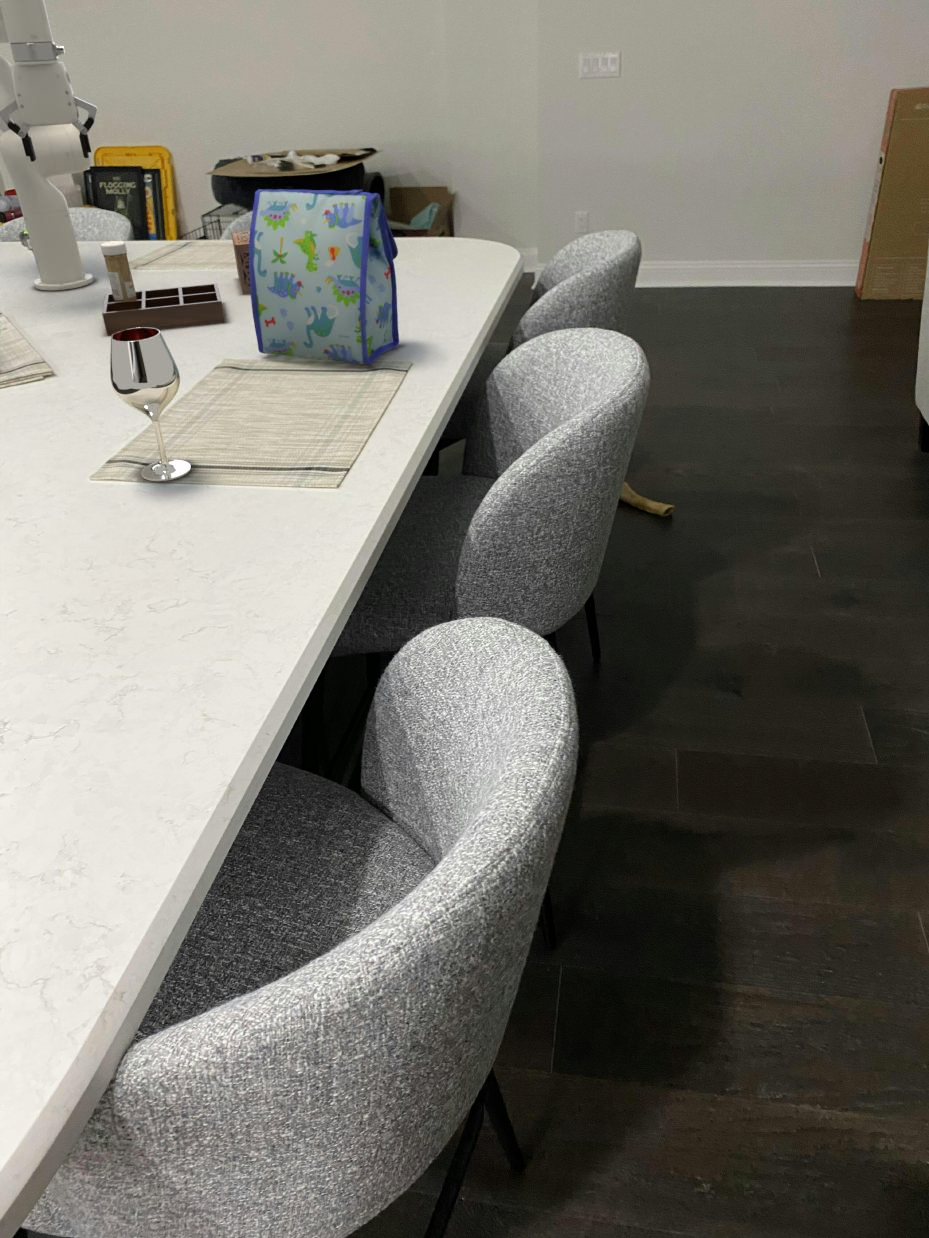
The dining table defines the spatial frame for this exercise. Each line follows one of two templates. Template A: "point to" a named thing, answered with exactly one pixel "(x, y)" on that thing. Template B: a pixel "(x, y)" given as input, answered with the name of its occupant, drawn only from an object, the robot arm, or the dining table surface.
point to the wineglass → (147, 387)
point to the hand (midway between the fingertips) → (60, 159)
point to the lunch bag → (323, 275)
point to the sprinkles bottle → (118, 270)
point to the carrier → (165, 309)
